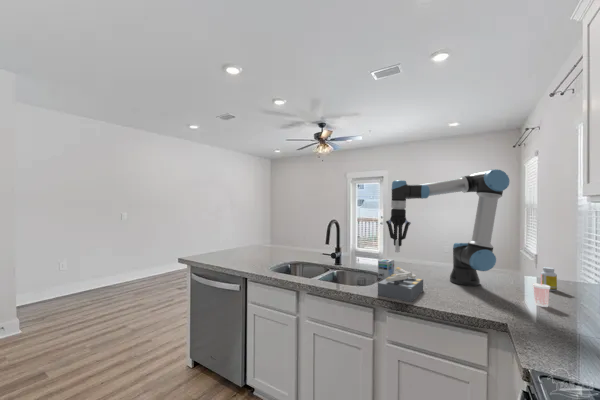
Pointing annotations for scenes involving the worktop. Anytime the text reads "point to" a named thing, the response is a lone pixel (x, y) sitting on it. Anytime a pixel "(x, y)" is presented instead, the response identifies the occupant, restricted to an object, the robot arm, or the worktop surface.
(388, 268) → the light bulb box
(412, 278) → the rocker
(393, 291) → the box
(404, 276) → the rocker
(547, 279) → the pill bottle
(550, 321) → the worktop surface
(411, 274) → the rocker
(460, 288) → the worktop surface
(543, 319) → the worktop surface
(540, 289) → the beverage cup
